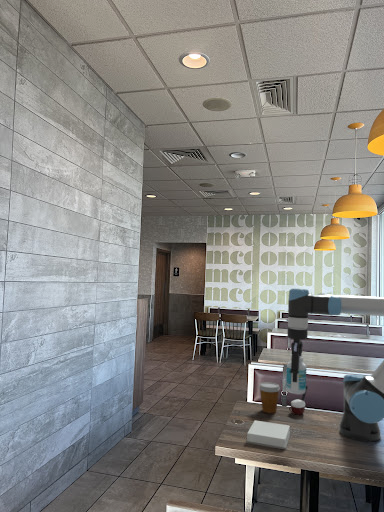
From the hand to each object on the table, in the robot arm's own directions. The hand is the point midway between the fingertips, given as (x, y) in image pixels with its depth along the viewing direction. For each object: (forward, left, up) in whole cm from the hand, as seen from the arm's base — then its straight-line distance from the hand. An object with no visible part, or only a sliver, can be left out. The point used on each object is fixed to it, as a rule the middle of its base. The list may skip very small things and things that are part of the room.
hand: (295, 387), depth 146 cm
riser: (+10, +3, -20) cm, 22 cm away
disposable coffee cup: (+15, -28, -20) cm, 37 cm away
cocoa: (+2, -30, -20) cm, 36 cm away
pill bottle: (0, 0, -2) cm, 2 cm away
